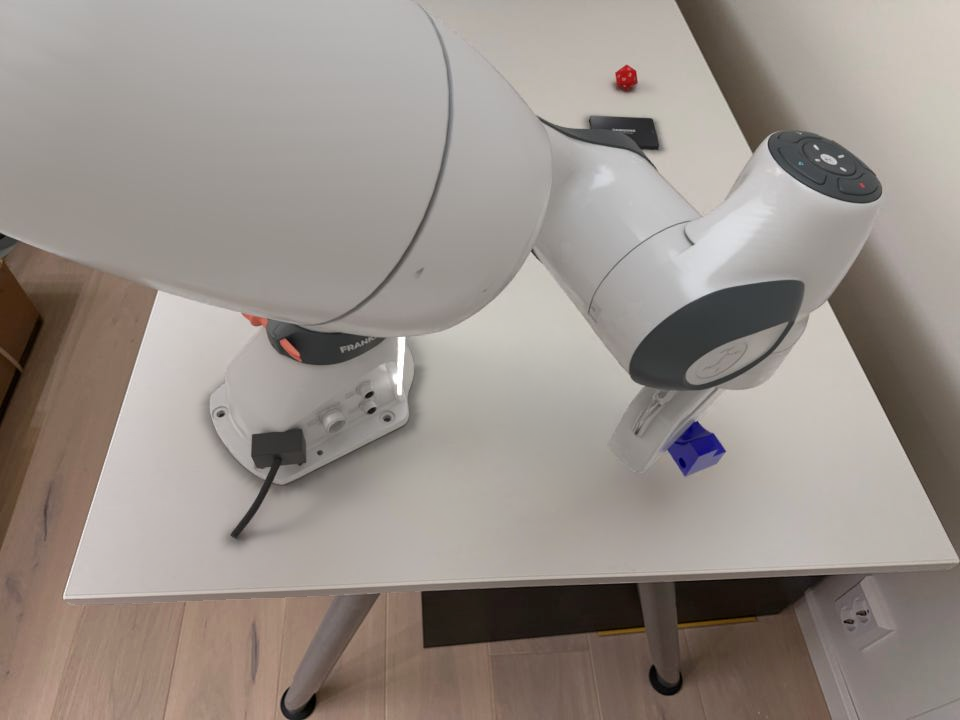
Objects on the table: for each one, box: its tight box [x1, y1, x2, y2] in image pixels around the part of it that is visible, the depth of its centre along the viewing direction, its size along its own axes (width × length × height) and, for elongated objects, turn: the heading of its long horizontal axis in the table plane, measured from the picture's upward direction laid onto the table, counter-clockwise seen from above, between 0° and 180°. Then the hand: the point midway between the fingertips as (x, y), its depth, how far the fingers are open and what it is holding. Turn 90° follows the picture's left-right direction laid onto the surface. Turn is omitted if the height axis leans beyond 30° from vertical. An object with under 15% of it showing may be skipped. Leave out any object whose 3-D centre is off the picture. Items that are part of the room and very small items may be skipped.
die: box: [614, 64, 639, 92], centre depth 111 cm, size 4×4×4 cm
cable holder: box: [666, 420, 727, 478], centre depth 62 cm, size 8×4×4 cm, turn 23°
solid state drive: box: [588, 115, 660, 151], centre depth 104 cm, size 7×10×1 cm
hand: (675, 422), depth 63 cm, fingers closed on cable holder, 3 cm apart
